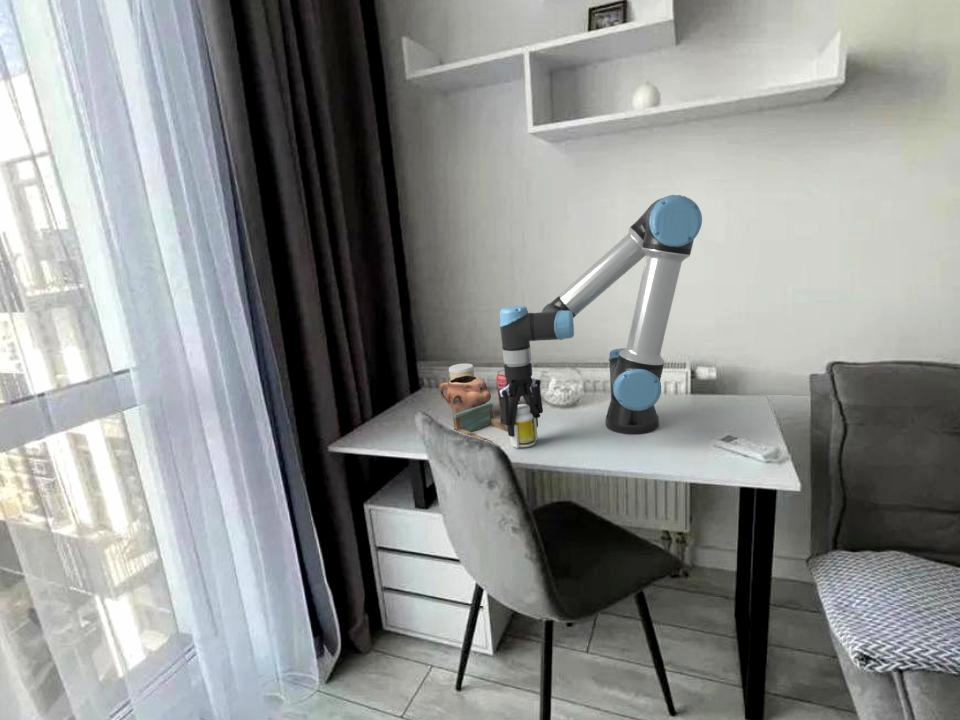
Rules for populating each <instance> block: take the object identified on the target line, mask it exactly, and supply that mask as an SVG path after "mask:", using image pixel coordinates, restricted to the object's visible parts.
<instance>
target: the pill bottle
mask: <svg viewBox="0 0 960 720" xmlns="http://www.w3.org/2000/svg"><path fill="white" fill-rule="evenodd" d="M515 424H516V425H517V427H518V438H519V447H518V448H529V447H530V448H531V447H532V446H535V444H536V440H535V431H534V419H533V415H532V414H531V413H530V406H529V405H526V403H524V404H523V403H522V404H521V403H520V405H518V407H517V413H516V419H515Z"/></svg>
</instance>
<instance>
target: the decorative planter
mask: <svg viewBox="0 0 960 720" xmlns="http://www.w3.org/2000/svg"><path fill="white" fill-rule="evenodd" d="M444 389H447V390H446V393H445V395H444ZM438 393H439V395H440V397H441V398H442V399H444V400H445V402H446V404H447V405H448V406H449V408H450V410H451V411H452V415H453V414H455V413H458V412H461V411H464V410H467V409H470V408H474V407H477V406H480V405H483V404H486V403H489V402H490V400H491V398H492V393H491V391H490V389H489V388H488V386H487V383H486V382H485V381H484V380H483V379H482V378H481V377H478V376H475V375H474V376H460V377H456V378H454V379H452V380H450V379H449V381H448V382H442V383H441V384H440V385H439V387H438Z"/></svg>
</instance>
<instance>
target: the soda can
mask: <svg viewBox="0 0 960 720" xmlns="http://www.w3.org/2000/svg"><path fill="white" fill-rule="evenodd" d="M506 383H507V380H506V378H505V371H504V369H501V370H499V371H497V374H496V384H497V391H498V390H499V389H503V388H505V387H506ZM508 393H509V391H508ZM497 396H498V397H497V398H498V404H499V405H498V406H499V408H500V397H499V394H498V393H497ZM508 397H509V395H508ZM513 397H514V396H513ZM515 398H516V397H515ZM520 404H521V400H520V401H519V402H518V405H520Z"/></svg>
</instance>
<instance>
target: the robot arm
mask: <svg viewBox="0 0 960 720" xmlns="http://www.w3.org/2000/svg"><path fill="white" fill-rule="evenodd" d="M702 223H703V215H702V211H701V209H700V207H699V205H698V204H697V202H695V201H694V200H693V199H691V198H689V197H687V196H685V195H680V194H678V195H677V194H671V195H670V194H669V195H666V196H664V197H661V198H659V199H657V200H655V201H654V202H653V203H651V204H650V206H649V207H648V208H647V209H646V210H645V211H644V212H643V214H642V215H641V216H639V218H637V220H636V221H635V222H634V223H633V224H632V225H631V226H630V227H629V228H628V234H626V235H625V236H623V238H622V239H621V240H619V242H617V243H616V244H615V245H614V246H613V247H611V249H609V251H607V252H606V253H605V254H604V255H603V256H601V258H599V259H598V260H597V261H596V262H595V263H594V264H592V266H591V267H589V268H587V270H586V271H585V272H584V273H583V274H581V275H580V276H579V277H578V278H577V279H575V281H574V282H572V284H570V285H569V286H568V287H567V288H566V289H565V290H564V291H562V292H561V293H560V294H559V296H557V297H556V298H555V299H553V300H552V301H551V302H550V303H547V304H546V305H545V306H544V307H543V308H542V310H541V311H540V312H529V311H528V308H527V306H526V305H525V306H524V305H511V306H510V305H509V306H505V307H502V308H501V310H499V328H500V337H501V345H502V356H503V357H502V358H503V364H504V366H503V368H504V369H503V370H504V371H505V378H506V380H507V383H506V387H505V388H503V389H499V390H498V389H497V395H498V394H499V397H500V407H499V411H500V415H499V416H500V418H499V419H500V420H501V423H502V424H504V425H507V428H508V432H507V435H508V436H509V438H510V446H511V447H513V448H516V449H517V448H518V449H519V448H520V447H519V438H518V427H517V425H516V424H515V419H516V413H517V407H518V402H519V401H520V402H521V397H522V398H523V401H524V404H526V405H529V406H530V413H531V414H532V415H533V419H534V431H535V441H538V427H539V420H538V419H539V418H540V417H541V414H542V413H543V412H544V408H543V407H544V406H543V402H542V393H541V379H538V378H532V376H533V365H532V363H531V362H532V353H531V344H530V343H531V342H537V341H539V342H540V341H554V340H555V341H557V340H559V341H562V340H567V339H572V338H574V335H575V325H574V318H575V317H576V316H577V315H578V314H579V313H580V312H582V311H583V310H584V309H585V308H587V307H588V306H589V305H590V304H591V303H592V302H594V301H595V300H596V299H597V298H598V297H599V296H601V294H603V293H604V292H605V291H607V289H608V288H610V287H612V285H613V284H615V282H617V281H618V280H619V279H620V278H622V277H623V276H624V275H625V274H626V273H627V272H628V271H630V270H631V269H632V268H633V267H634V266H635V265H637V264H638V263H639V262H640V261H641V260H642V259H644V258H645V257H646V258H645V262H644V266H643V271H642V275H641V280H640V284H639V290H638V293H637V299H636V303H635V309H634V311H633V316H632V320H631V325H630V330H629V335H628V338H627V344H626V347H623V348H616V349H612V350H610V352H609V354H608V355H609V357H608V361H609V380H610V402H609V405H608V409H607V412H606V416H605V427H606V428H607V429H609V430H611V431H613V432H616V433H620V434H626V435H628V434H629V435H630V434H631V435H636V434H637V435H639V434H645V433H646V434H647V433H650V432H652V431H655V430H657V429H658V428H659V427H660V418H659V415H658V413H657V410H656V407H655V404H656V403H658V401H659V400H660V398H661V394H662V382H661V379H662V375H663V370H664V365H665V360H664V358H663V357H662V356H661V352H662V347H663V343H664V339H665V335H666V330H667V326H668V322H669V319H670V313H671V310H672V306H673V301H674V297H675V292H676V289H677V285H678V280H679V276H680V275H679V274H680V272H681V266H682V262H684V261H685V260H686V259H688V258H689V257H691V252H692V250H693V247H694V240H695V239H696V237H697V236H698V235H699V233H700V230H701V228H702ZM508 391H509V393H508ZM508 395H509V397H508ZM513 396H514V397H513ZM499 397H498V398H499ZM515 397H516V398H515Z"/></svg>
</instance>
